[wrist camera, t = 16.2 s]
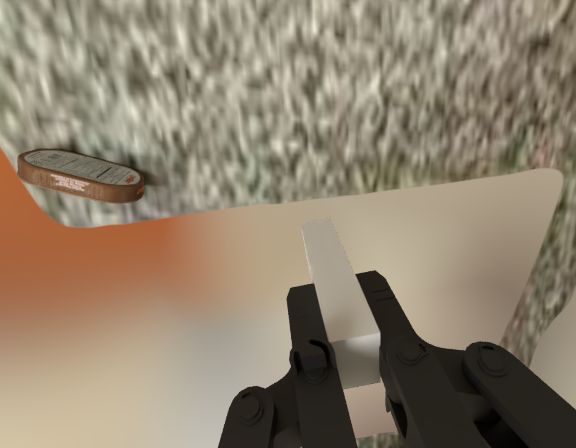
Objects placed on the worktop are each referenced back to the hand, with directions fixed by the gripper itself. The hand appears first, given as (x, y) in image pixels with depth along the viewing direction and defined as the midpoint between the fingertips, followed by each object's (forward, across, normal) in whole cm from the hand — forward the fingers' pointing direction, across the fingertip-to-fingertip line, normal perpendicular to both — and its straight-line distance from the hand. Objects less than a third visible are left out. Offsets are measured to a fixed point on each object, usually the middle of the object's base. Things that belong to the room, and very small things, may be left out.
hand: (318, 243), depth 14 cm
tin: (+33, -28, -2) cm, 43 cm away
